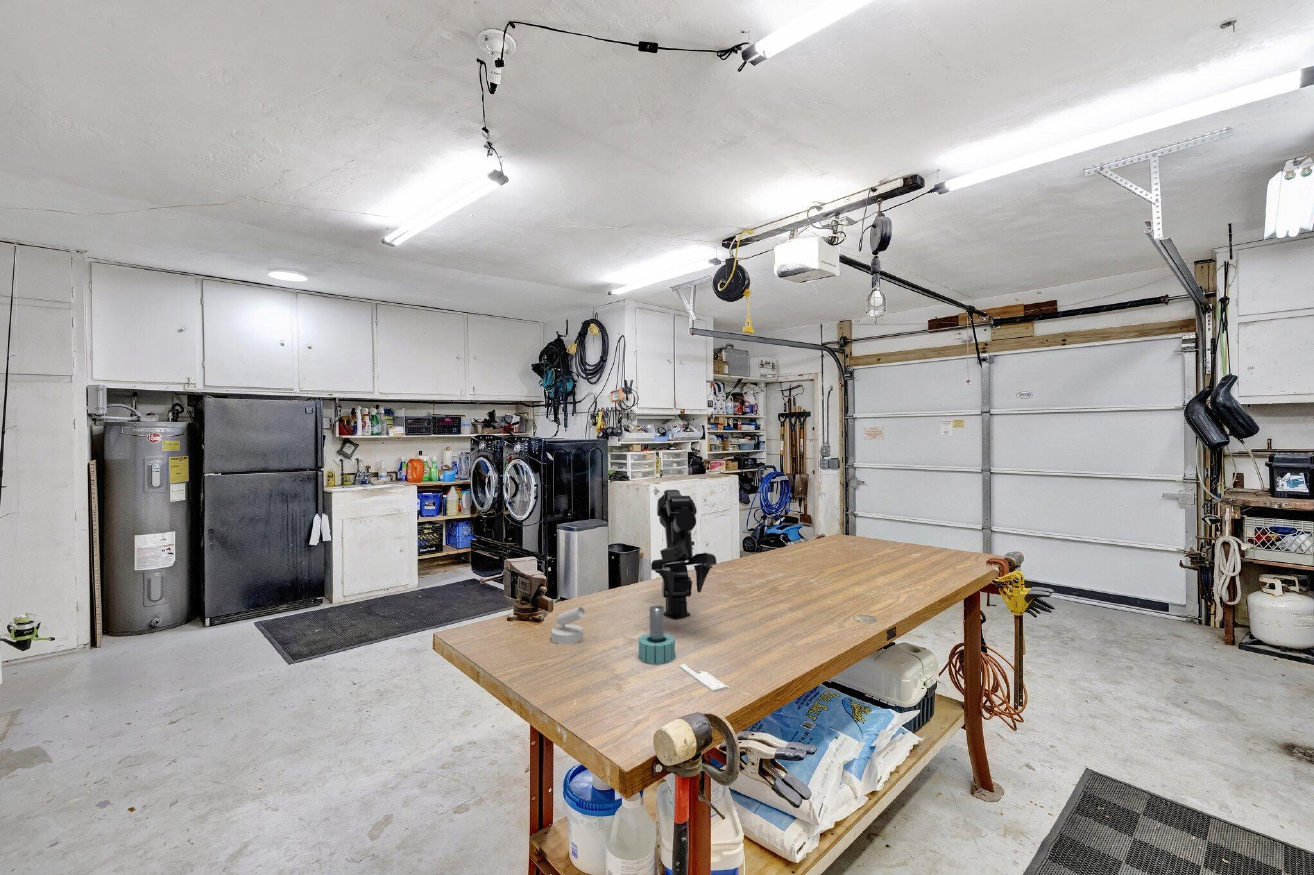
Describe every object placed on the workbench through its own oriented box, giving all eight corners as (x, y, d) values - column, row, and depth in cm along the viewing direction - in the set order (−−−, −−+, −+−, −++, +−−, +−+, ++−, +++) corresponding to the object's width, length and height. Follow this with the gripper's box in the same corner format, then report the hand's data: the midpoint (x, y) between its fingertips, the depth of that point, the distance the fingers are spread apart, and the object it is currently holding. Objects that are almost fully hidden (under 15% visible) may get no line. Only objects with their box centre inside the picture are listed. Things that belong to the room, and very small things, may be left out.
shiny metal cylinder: (648, 655, 142) (647, 606, 142) (661, 653, 143) (660, 605, 143) (652, 660, 138) (652, 610, 138) (665, 658, 139) (665, 609, 139)
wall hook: (573, 612, 147) (544, 606, 152) (573, 647, 147) (545, 640, 152) (592, 603, 154) (565, 598, 159) (593, 637, 154) (565, 631, 159)
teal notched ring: (632, 655, 141) (631, 638, 141) (659, 647, 147) (659, 630, 147) (654, 667, 134) (654, 648, 134) (681, 657, 140) (681, 639, 140)
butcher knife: (696, 664, 137) (696, 660, 137) (731, 689, 123) (731, 684, 123) (678, 668, 134) (678, 663, 134) (712, 694, 121) (712, 689, 121)
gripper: (639, 539, 158) (640, 595, 153) (695, 529, 149) (699, 589, 143) (660, 543, 167) (663, 597, 161) (715, 534, 157) (719, 591, 152)
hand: (684, 593), depth 154 cm, fingers open, 9 cm apart
